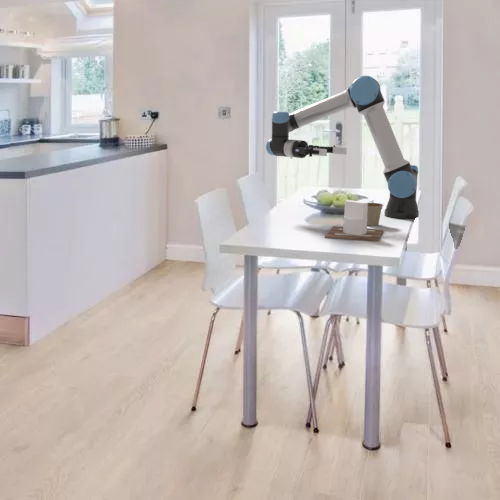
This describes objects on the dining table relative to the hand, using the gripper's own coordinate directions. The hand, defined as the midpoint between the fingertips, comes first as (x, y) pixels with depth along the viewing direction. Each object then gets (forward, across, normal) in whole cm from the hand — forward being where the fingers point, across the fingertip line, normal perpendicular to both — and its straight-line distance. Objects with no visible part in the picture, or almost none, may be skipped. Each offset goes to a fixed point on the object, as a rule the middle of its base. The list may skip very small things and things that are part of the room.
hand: (336, 151), depth 260 cm
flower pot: (+13, -9, -30) cm, 34 cm away
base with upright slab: (+20, +13, -29) cm, 38 cm away
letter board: (+20, +13, -30) cm, 38 cm away
